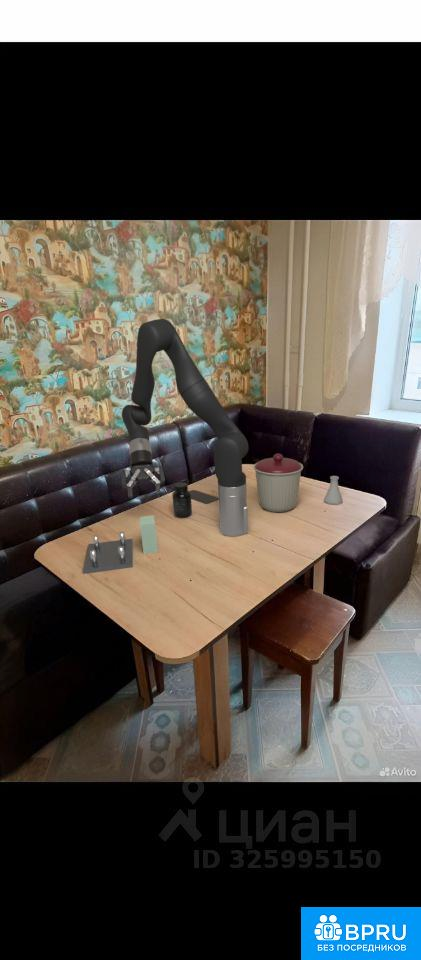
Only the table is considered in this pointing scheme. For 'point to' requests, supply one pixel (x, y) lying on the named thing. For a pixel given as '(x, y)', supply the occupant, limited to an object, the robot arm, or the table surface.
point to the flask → (333, 492)
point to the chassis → (109, 555)
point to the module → (148, 534)
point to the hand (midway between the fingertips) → (145, 497)
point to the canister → (278, 482)
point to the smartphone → (202, 497)
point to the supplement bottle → (182, 501)
